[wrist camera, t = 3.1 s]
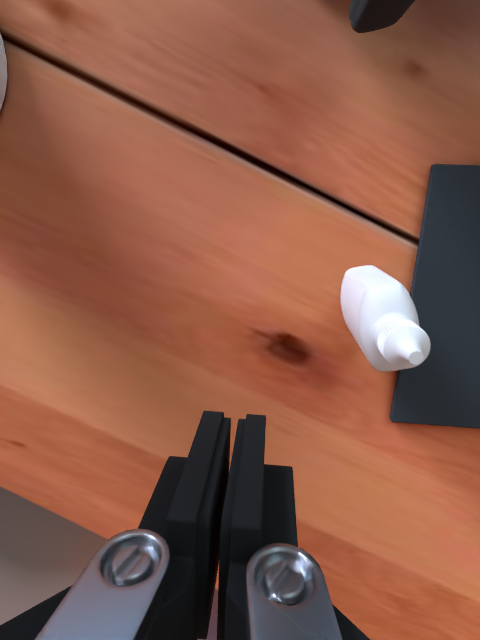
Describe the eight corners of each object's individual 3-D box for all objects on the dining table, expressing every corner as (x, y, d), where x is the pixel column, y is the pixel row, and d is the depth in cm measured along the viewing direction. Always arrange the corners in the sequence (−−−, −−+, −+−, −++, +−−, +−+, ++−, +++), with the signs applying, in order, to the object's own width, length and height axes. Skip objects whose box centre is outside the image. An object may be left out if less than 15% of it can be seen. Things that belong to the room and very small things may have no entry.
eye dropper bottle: (322, 324, 31) (350, 392, 20) (350, 257, 30) (399, 289, 18) (373, 342, 31) (432, 420, 20) (404, 276, 30) (487, 320, 18)
